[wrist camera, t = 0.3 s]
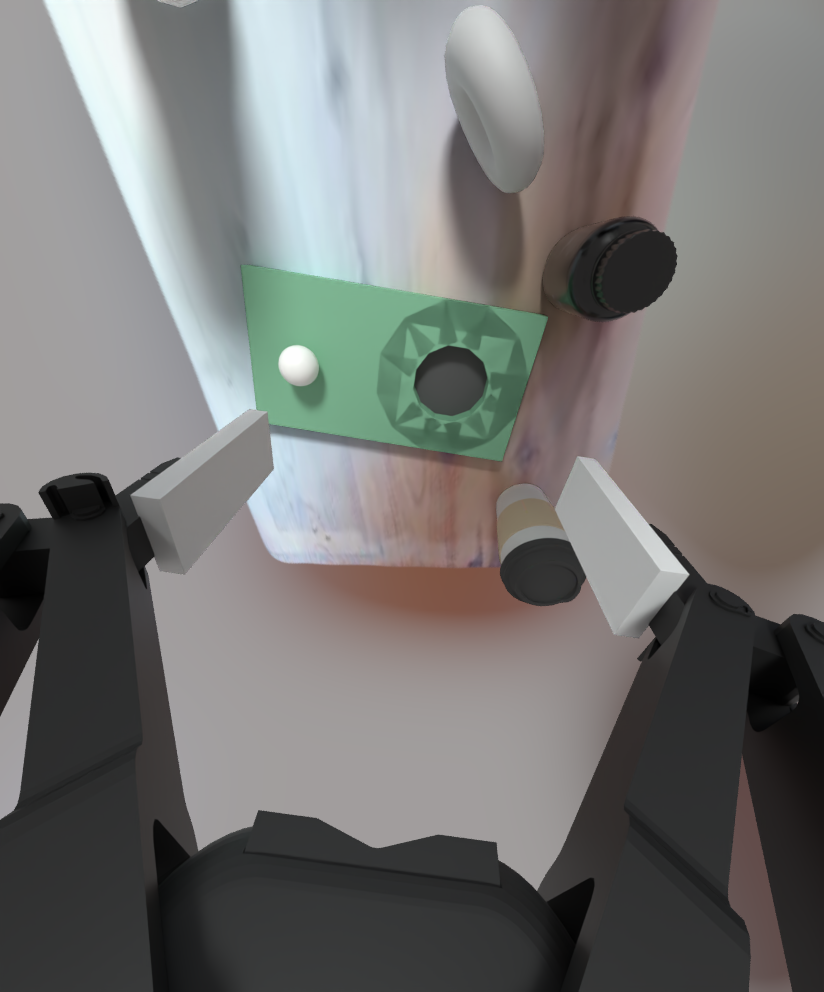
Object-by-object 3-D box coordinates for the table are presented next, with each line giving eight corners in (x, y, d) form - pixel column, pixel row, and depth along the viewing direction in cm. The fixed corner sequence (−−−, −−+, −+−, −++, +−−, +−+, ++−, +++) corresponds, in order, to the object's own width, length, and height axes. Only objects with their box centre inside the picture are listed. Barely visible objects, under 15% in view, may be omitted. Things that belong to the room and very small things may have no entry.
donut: (534, 182, 30) (569, 149, 22) (498, 213, 31) (519, 193, 23) (473, 40, 26) (487, -67, 18) (435, 83, 27) (432, 1, 19)
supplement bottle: (540, 317, 36) (579, 337, 26) (541, 236, 32) (587, 221, 22) (612, 304, 35) (682, 319, 24) (621, 218, 31) (708, 194, 21)
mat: (250, 265, 35) (240, 264, 33) (543, 314, 35) (548, 316, 34) (265, 416, 44) (258, 422, 42) (499, 454, 44) (501, 461, 43)
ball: (285, 339, 37) (270, 346, 33) (323, 345, 37) (311, 353, 33) (288, 377, 39) (273, 387, 35) (323, 383, 39) (312, 393, 36)
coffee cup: (476, 518, 50) (488, 601, 38) (507, 467, 45) (532, 543, 33) (532, 537, 51) (562, 624, 39) (568, 489, 46) (615, 571, 34)
